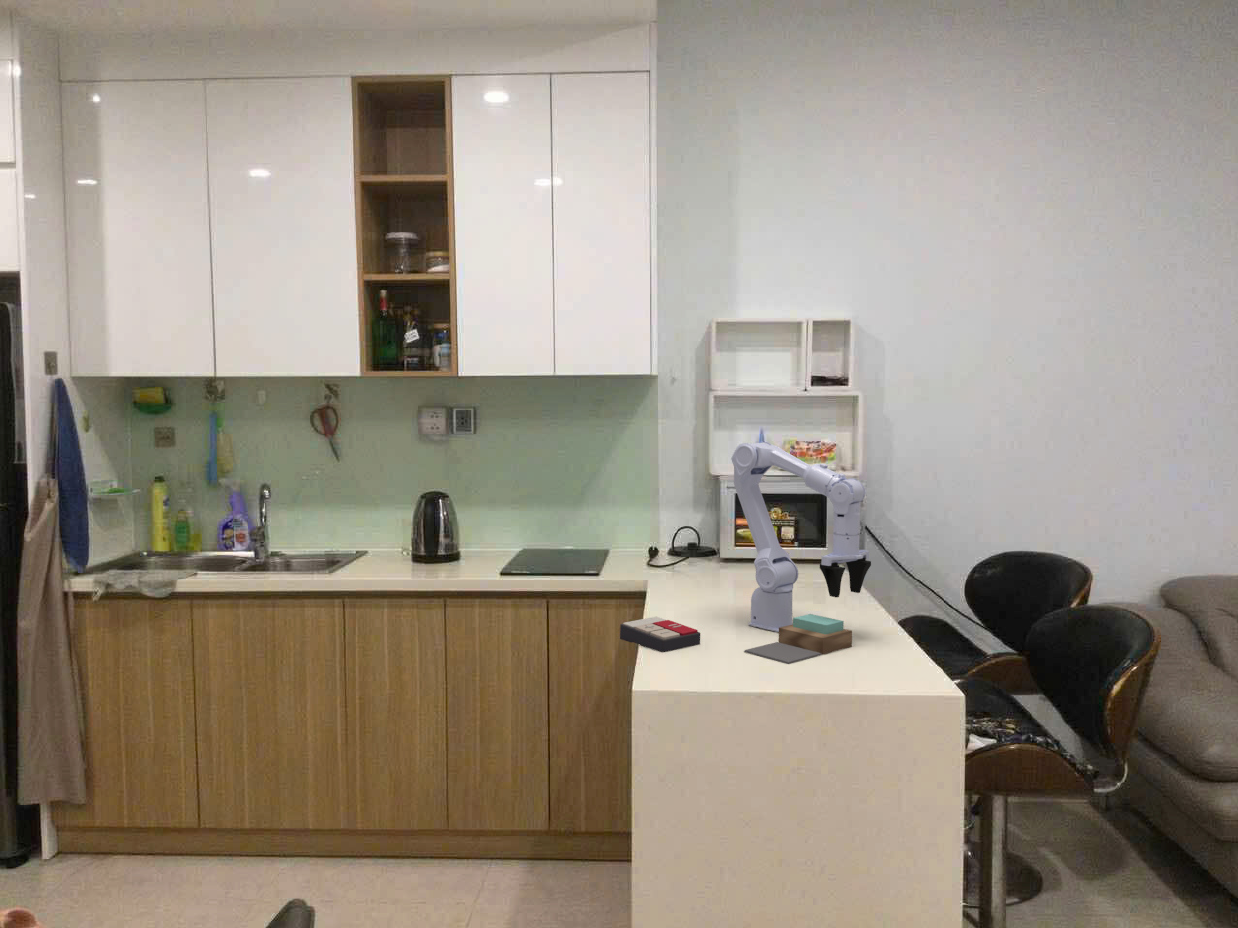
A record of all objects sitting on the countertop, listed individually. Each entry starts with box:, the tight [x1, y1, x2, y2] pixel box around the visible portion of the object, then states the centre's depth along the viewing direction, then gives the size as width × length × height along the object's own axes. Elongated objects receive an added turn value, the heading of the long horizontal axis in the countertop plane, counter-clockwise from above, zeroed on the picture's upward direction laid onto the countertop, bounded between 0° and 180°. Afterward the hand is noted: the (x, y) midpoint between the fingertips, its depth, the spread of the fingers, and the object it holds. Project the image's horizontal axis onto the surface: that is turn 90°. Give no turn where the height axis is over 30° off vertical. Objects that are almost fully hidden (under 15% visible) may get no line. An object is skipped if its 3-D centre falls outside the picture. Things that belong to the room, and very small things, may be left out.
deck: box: [778, 624, 853, 656], centre depth 199 cm, size 12×10×4 cm
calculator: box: [619, 616, 701, 653], centre depth 203 cm, size 11×4×15 cm
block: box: [792, 613, 845, 634], centre depth 200 cm, size 9×6×2 cm, turn 40°
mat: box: [743, 641, 822, 665], centre depth 193 cm, size 12×10×1 cm
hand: (844, 594), depth 203 cm, fingers open, 7 cm apart
